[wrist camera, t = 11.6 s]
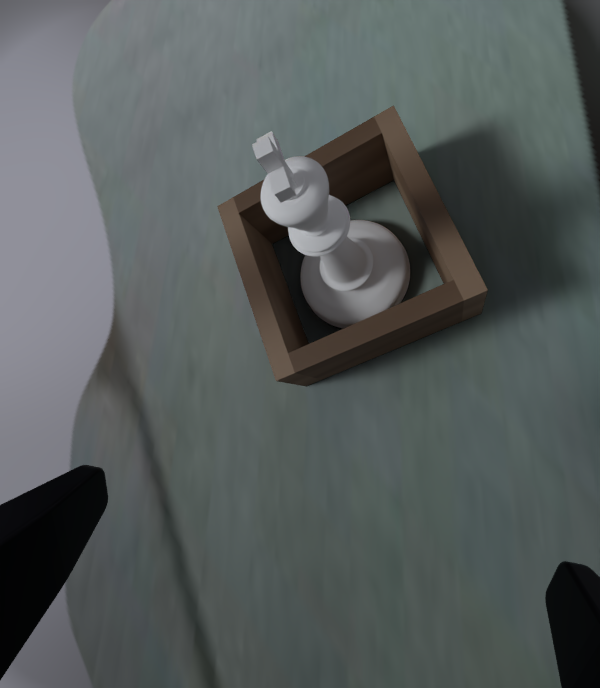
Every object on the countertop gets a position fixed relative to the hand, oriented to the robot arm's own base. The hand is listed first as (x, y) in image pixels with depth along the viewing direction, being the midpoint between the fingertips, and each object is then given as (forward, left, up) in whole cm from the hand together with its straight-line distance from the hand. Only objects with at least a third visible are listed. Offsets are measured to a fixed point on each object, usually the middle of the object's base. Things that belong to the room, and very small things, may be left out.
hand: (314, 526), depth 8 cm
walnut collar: (+8, -2, -10) cm, 13 cm away
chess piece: (+8, -2, -10) cm, 13 cm away
